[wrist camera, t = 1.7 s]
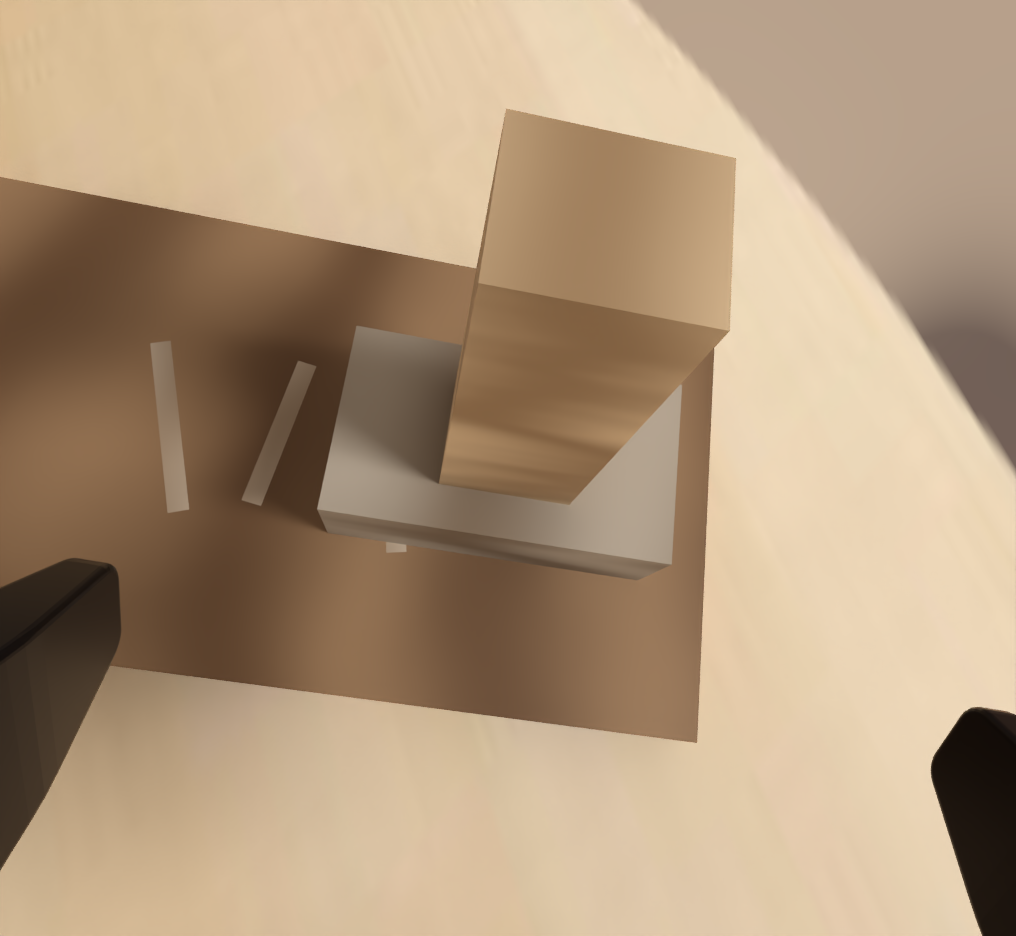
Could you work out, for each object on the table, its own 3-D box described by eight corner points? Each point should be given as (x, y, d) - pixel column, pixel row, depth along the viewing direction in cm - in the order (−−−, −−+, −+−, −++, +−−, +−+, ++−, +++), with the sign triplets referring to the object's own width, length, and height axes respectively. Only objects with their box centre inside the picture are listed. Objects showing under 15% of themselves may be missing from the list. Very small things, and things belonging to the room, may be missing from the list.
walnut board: (696, 337, 23) (715, 314, 22) (675, 739, 19) (697, 742, 18) (-38, 199, 21) (-70, 163, 19) (-219, 621, 17) (-274, 614, 16)
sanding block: (648, 420, 20) (912, 136, 10) (637, 580, 19) (930, 445, 9) (361, 369, 20) (320, 3, 9) (327, 532, 18) (232, 320, 8)
